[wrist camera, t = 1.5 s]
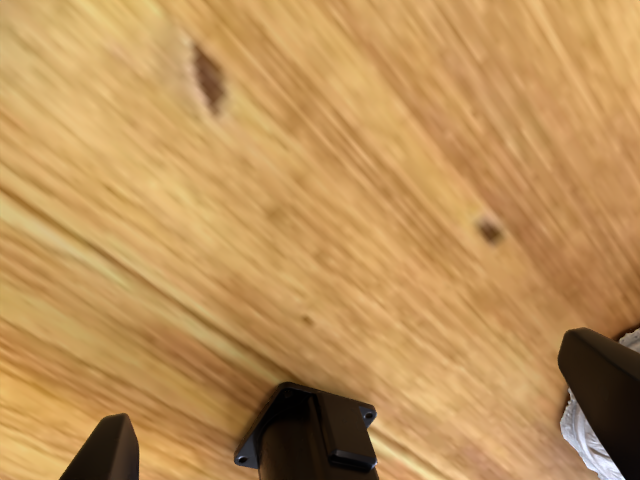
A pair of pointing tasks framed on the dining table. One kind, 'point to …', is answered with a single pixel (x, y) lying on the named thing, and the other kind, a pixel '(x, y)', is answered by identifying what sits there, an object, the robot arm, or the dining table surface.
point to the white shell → (583, 435)
